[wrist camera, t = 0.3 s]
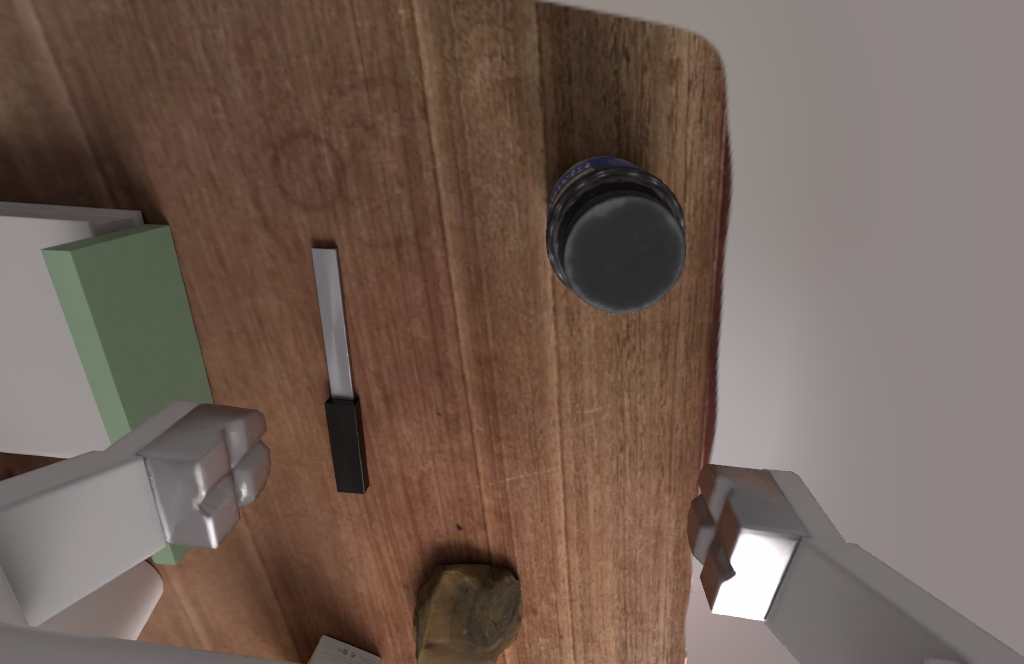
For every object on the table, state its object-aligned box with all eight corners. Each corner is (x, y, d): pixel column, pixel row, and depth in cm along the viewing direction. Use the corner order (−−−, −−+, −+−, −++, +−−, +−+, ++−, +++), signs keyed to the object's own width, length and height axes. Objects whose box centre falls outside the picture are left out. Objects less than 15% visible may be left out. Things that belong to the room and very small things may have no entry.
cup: (82, 507, 42) (-95, 650, 30) (208, 572, 44) (87, 729, 32) (50, 582, 46) (-116, 732, 35) (166, 638, 48) (46, 797, 37)
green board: (145, 223, 31) (39, 249, 25) (169, 224, 31) (69, 250, 25) (218, 492, 40) (153, 563, 33) (237, 494, 40) (175, 565, 33)
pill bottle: (568, 139, 27) (578, 148, 17) (670, 174, 27) (738, 203, 17) (534, 243, 30) (523, 304, 20) (627, 274, 30) (665, 349, 20)
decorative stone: (418, 548, 41) (405, 585, 37) (528, 564, 40) (526, 602, 37) (416, 632, 45) (405, 671, 42) (517, 647, 44) (513, 688, 41)
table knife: (309, 246, 31) (301, 250, 30) (342, 248, 31) (336, 251, 30) (342, 483, 38) (337, 492, 37) (369, 485, 38) (365, 494, 37)
